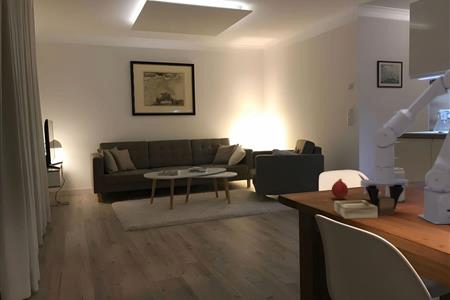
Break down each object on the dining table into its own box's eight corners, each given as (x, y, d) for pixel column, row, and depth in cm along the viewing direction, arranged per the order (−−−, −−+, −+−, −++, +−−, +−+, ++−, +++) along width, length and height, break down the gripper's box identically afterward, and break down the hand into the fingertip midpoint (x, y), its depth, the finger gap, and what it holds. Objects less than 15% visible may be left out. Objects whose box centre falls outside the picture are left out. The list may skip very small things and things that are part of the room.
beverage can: (406, 202, 133) (407, 169, 132) (387, 202, 134) (387, 169, 133) (401, 199, 139) (402, 167, 138) (383, 198, 140) (384, 167, 139)
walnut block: (394, 214, 117) (394, 199, 116) (380, 215, 117) (380, 199, 116) (387, 211, 121) (387, 196, 121) (373, 211, 121) (373, 196, 121)
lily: (379, 210, 127) (391, 185, 128) (346, 194, 131) (358, 170, 132) (376, 212, 138) (387, 189, 139) (346, 198, 142) (357, 176, 143)
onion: (330, 200, 139) (330, 179, 138) (333, 197, 144) (333, 177, 143) (346, 201, 136) (346, 180, 135) (349, 198, 141) (349, 177, 140)
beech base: (377, 217, 113) (377, 207, 113) (345, 218, 113) (345, 207, 113) (364, 209, 123) (364, 200, 123) (334, 210, 123) (334, 200, 123)
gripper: (400, 164, 122) (399, 205, 123) (357, 165, 122) (356, 206, 123) (412, 167, 115) (411, 210, 116) (365, 168, 115) (365, 211, 116)
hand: (383, 208), depth 119 cm, fingers open, 5 cm apart
